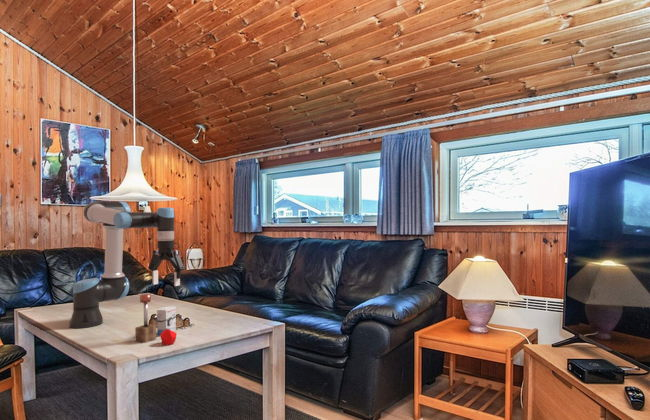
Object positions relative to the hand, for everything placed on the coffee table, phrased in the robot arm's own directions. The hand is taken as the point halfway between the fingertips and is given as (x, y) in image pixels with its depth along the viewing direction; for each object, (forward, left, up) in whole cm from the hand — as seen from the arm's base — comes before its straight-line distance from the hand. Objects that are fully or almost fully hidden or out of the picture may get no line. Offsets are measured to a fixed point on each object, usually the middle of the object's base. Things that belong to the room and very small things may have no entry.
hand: (166, 285), depth 197 cm
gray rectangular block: (0, +11, -23) cm, 25 cm away
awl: (0, -13, -17) cm, 21 cm away
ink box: (0, 0, -23) cm, 23 cm away
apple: (+14, -13, -23) cm, 30 cm away
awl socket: (0, -13, -23) cm, 26 cm away
